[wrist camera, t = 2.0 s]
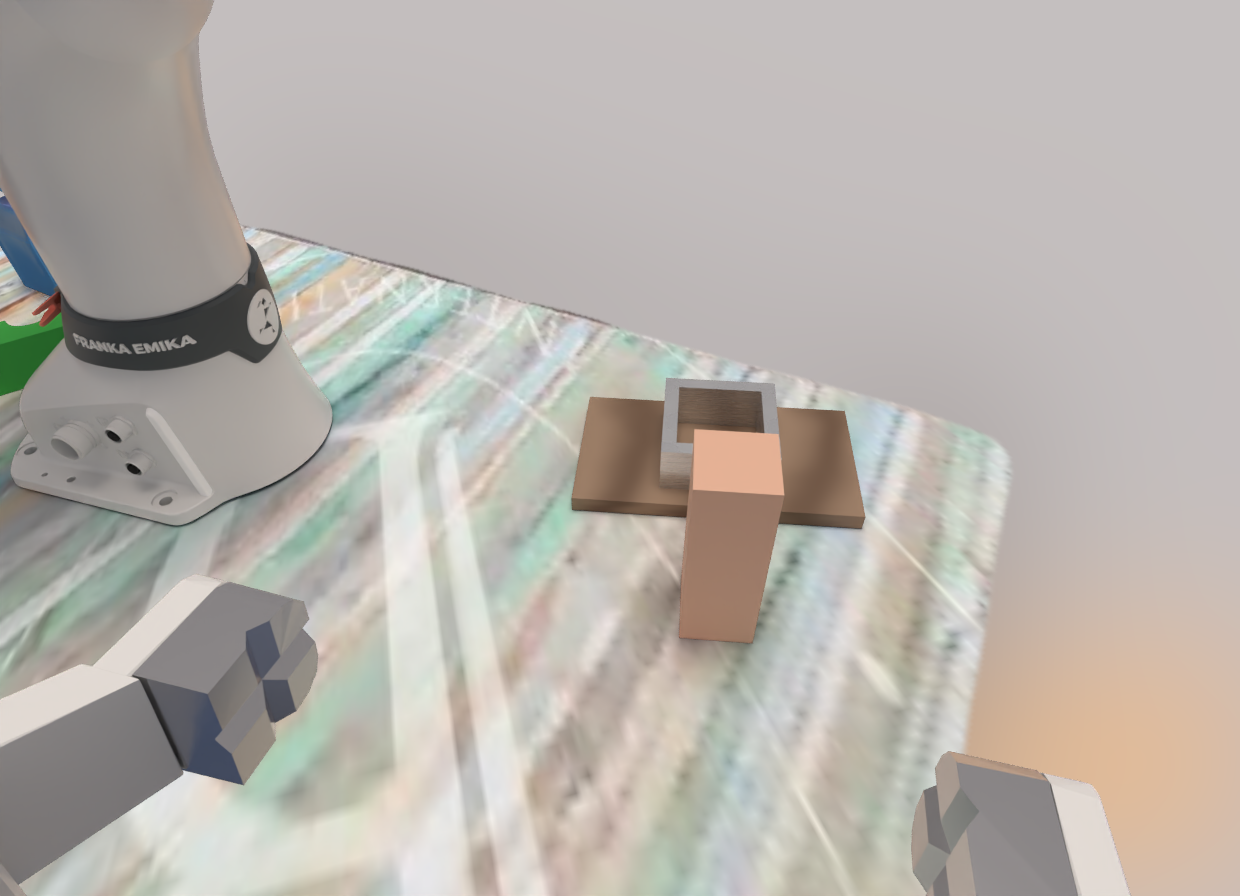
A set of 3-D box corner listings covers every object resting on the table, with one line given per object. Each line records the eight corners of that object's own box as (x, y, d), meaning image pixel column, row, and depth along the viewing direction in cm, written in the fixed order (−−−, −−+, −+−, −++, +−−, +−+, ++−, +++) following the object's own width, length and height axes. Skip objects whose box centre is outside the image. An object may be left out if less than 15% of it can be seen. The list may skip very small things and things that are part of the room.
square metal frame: (659, 487, 53) (661, 451, 51) (664, 413, 59) (666, 378, 56) (774, 495, 53) (781, 459, 50) (768, 419, 58) (774, 383, 56)
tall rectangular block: (678, 637, 46) (692, 489, 37) (681, 578, 49) (694, 429, 40) (752, 643, 45) (784, 495, 36) (749, 583, 49) (778, 434, 40)
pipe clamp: (127, 336, 69) (104, 292, 66) (134, 356, 67) (110, 312, 64) (-17, 378, 64) (-50, 333, 61) (-15, 402, 62) (-48, 356, 59)
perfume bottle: (82, 258, 79) (19, 142, 71) (121, 272, 77) (61, 154, 69) (25, 286, 75) (-49, 167, 67) (64, 301, 73) (-7, 181, 65)
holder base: (572, 509, 53) (571, 498, 52) (590, 408, 61) (590, 396, 60) (861, 528, 52) (865, 516, 51) (841, 422, 60) (844, 411, 59)
